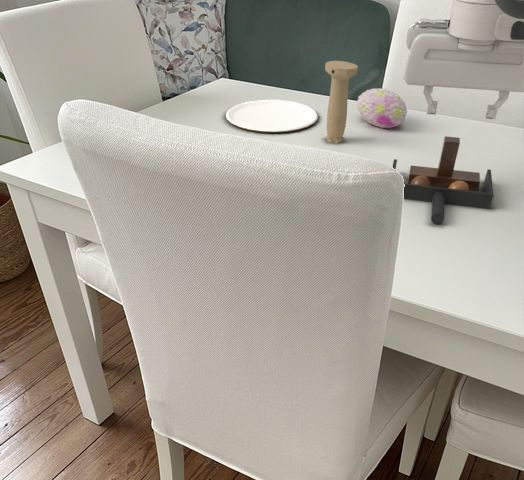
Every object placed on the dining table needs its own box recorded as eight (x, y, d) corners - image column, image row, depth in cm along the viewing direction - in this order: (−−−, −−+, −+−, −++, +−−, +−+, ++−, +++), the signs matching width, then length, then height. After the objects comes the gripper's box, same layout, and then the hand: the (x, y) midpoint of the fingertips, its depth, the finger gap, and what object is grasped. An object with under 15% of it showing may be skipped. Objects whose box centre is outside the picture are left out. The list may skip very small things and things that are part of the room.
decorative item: (371, 90, 130) (387, 63, 121) (402, 127, 131) (421, 103, 121) (343, 112, 128) (358, 86, 119) (375, 149, 129) (392, 127, 119)
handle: (339, 149, 116) (346, 70, 106) (315, 141, 119) (320, 63, 110) (353, 143, 119) (362, 65, 109) (330, 135, 122) (336, 59, 112)
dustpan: (486, 185, 104) (490, 169, 102) (491, 234, 90) (496, 216, 88) (391, 174, 107) (394, 159, 105) (382, 220, 93) (384, 203, 91)
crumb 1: (430, 189, 96) (428, 202, 100) (433, 172, 98) (431, 185, 101) (408, 187, 97) (407, 200, 101) (412, 170, 98) (411, 183, 102)
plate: (208, 125, 126) (208, 120, 125) (252, 99, 140) (252, 94, 139) (294, 142, 119) (294, 136, 118) (331, 113, 133) (331, 107, 132)
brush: (475, 188, 103) (488, 138, 97) (475, 198, 100) (489, 147, 94) (407, 181, 105) (416, 131, 99) (406, 190, 102) (415, 140, 96)
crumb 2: (467, 204, 96) (466, 202, 100) (472, 182, 95) (470, 181, 98) (445, 201, 97) (444, 200, 100) (450, 179, 96) (449, 179, 99)
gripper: (408, 22, 85) (395, 117, 94) (554, 29, 81) (525, 127, 90) (411, 14, 90) (398, 104, 99) (549, 19, 85) (523, 114, 95)
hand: (460, 115), depth 94 cm, fingers open, 8 cm apart
